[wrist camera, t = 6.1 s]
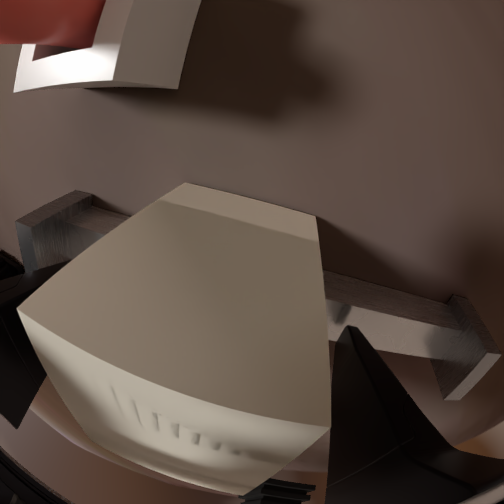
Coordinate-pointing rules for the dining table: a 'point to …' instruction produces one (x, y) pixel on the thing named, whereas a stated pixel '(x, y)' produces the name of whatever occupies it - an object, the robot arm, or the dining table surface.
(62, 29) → the plunger
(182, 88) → the dining table surface
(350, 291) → the rail
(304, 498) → the black fluted column
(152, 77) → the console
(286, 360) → the carriage
